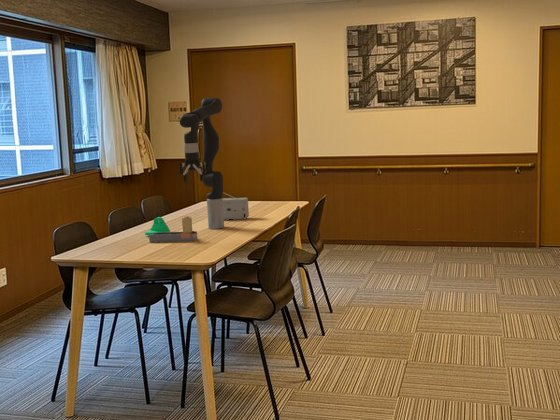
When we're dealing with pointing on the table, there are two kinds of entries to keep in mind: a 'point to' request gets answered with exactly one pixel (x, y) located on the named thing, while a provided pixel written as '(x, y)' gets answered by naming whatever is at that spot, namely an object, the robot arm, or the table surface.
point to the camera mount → (158, 226)
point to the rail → (173, 237)
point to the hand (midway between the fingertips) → (193, 181)
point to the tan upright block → (187, 225)
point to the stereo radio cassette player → (235, 208)
